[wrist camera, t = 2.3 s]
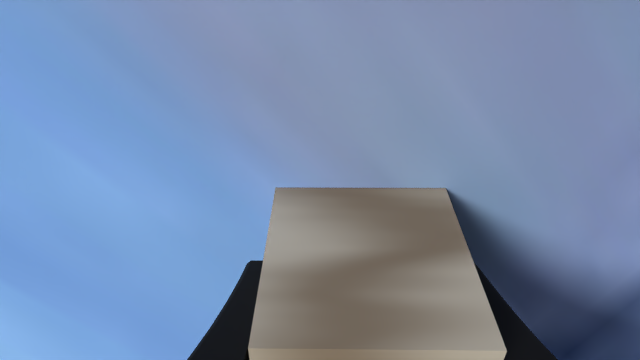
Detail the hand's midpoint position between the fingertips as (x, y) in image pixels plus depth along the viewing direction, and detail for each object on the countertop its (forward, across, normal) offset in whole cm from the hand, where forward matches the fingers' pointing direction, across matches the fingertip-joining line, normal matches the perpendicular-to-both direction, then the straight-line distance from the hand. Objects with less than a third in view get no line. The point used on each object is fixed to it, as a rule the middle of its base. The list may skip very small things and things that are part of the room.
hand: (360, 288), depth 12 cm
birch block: (+1, 0, 0) cm, 1 cm away
